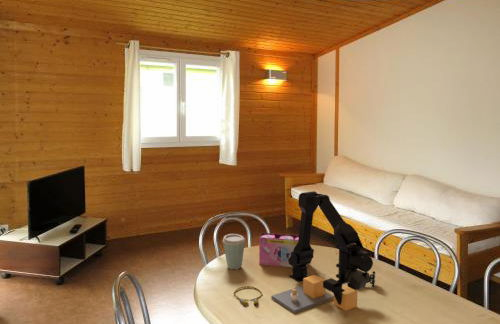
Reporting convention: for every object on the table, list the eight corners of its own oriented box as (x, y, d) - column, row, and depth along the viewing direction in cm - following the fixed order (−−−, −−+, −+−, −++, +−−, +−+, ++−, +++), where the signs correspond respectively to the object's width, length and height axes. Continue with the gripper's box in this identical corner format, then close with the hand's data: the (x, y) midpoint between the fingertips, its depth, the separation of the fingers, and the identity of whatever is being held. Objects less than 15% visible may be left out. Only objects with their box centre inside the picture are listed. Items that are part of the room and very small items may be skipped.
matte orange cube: (333, 304, 151) (334, 289, 150) (345, 300, 154) (345, 285, 153) (345, 310, 146) (346, 295, 145) (357, 306, 149) (357, 291, 148)
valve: (344, 285, 167) (373, 289, 163) (344, 270, 166) (374, 274, 162) (346, 279, 173) (375, 283, 169) (346, 264, 172) (375, 268, 168)
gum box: (310, 262, 192) (311, 235, 190) (309, 269, 185) (309, 240, 183) (262, 258, 198) (262, 232, 196) (258, 264, 190) (258, 237, 189)
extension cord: (226, 304, 152) (226, 300, 152) (238, 287, 167) (238, 282, 167) (257, 309, 149) (257, 304, 148) (266, 290, 164) (266, 286, 163)
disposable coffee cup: (249, 265, 189) (249, 235, 187) (237, 273, 180) (236, 241, 178) (231, 261, 194) (231, 231, 192) (218, 268, 185) (217, 237, 183)
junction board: (271, 298, 156) (271, 281, 155) (309, 286, 167) (310, 269, 166) (294, 313, 144) (294, 294, 143) (333, 299, 155) (334, 281, 154)
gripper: (345, 275, 136) (343, 318, 138) (380, 264, 146) (379, 304, 148) (322, 265, 145) (321, 305, 147) (357, 255, 156) (356, 292, 158)
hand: (345, 302), depth 150 cm, fingers closed on matte orange cube, 6 cm apart
